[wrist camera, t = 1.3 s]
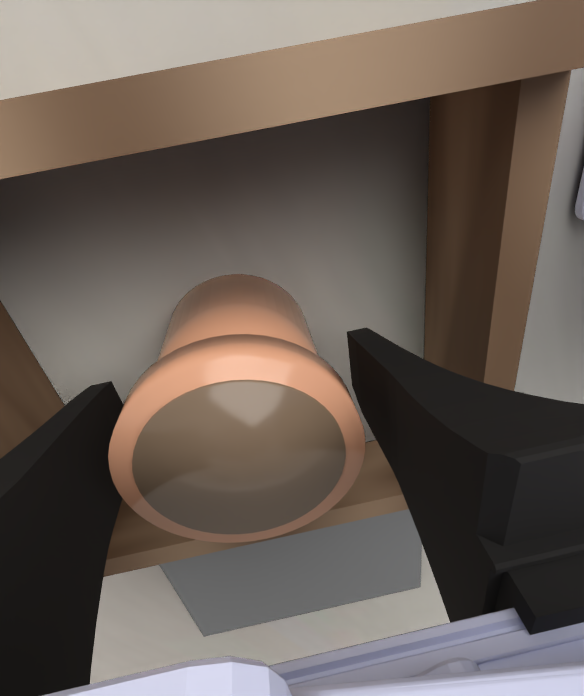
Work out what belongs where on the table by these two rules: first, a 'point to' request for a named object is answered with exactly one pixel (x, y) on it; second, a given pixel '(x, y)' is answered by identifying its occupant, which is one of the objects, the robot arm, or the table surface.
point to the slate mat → (299, 573)
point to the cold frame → (326, 100)
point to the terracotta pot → (236, 420)
